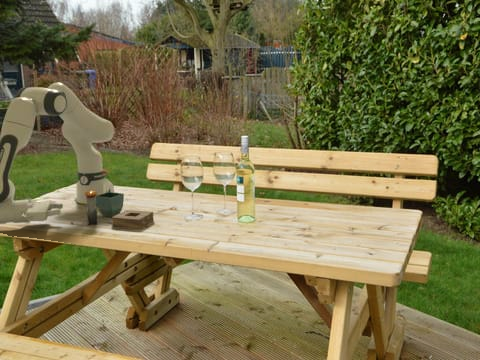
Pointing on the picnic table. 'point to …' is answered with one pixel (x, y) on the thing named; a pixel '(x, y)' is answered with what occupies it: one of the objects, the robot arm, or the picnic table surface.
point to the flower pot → (110, 203)
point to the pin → (91, 207)
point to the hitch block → (132, 219)
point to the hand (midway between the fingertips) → (61, 208)
